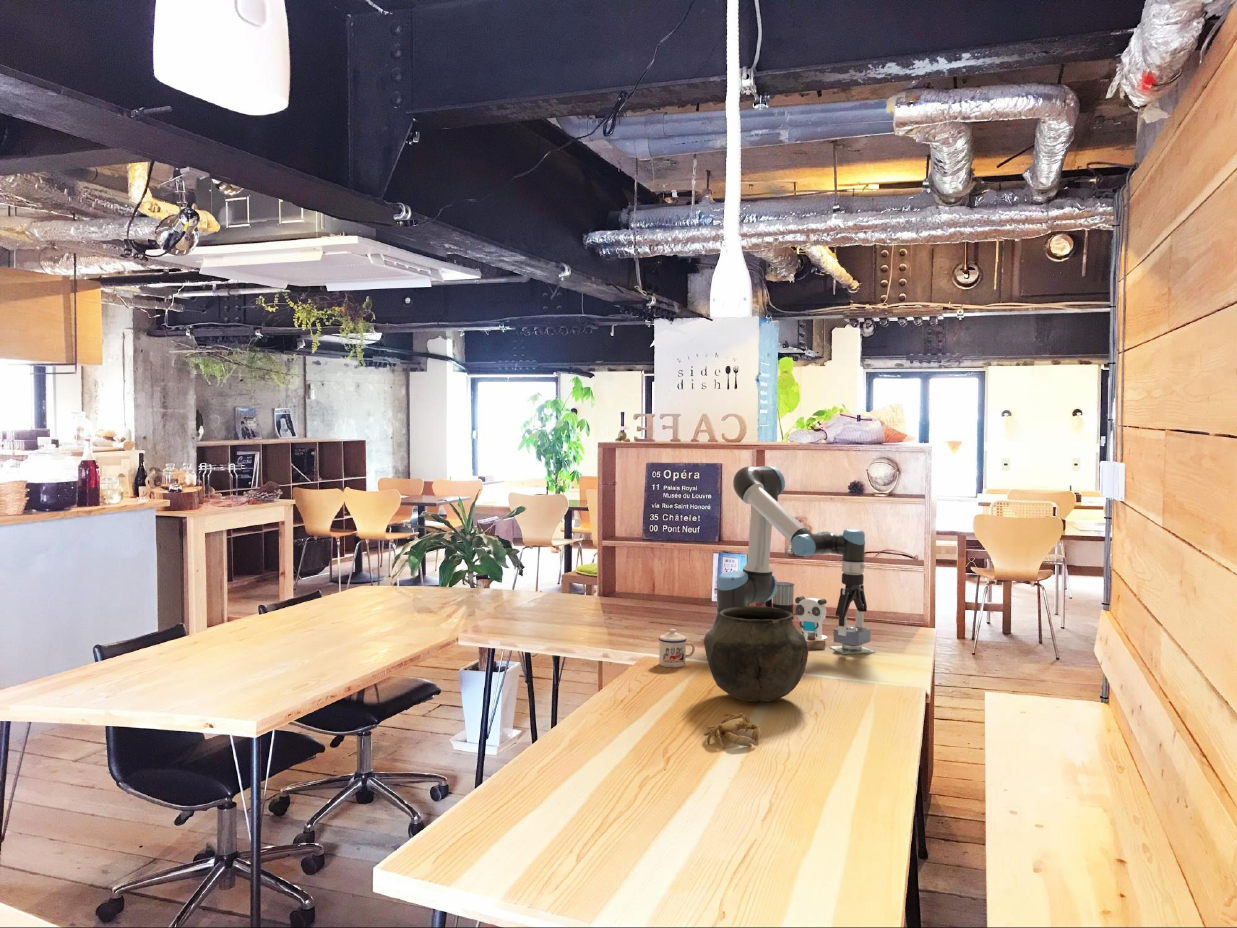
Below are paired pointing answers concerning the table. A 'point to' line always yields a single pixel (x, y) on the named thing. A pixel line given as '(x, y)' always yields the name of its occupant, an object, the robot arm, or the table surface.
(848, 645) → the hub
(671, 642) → the teacup with lid
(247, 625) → the table surface
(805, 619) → the panda figurine
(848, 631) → the grey square block
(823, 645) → the stand
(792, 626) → the pot
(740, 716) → the crab model
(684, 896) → the table surface
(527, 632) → the table surface
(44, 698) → the table surface
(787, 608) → the milk frother
